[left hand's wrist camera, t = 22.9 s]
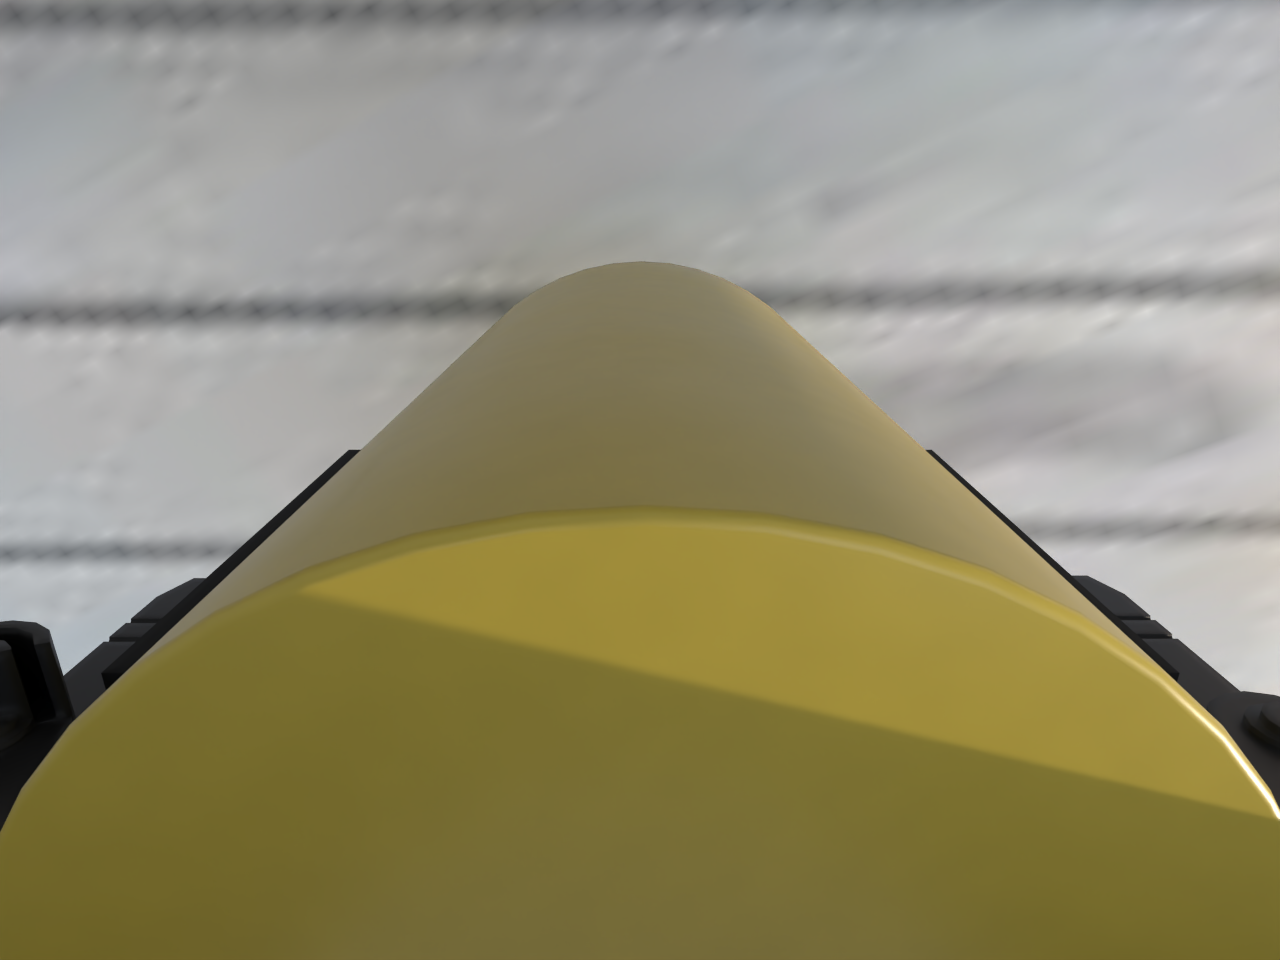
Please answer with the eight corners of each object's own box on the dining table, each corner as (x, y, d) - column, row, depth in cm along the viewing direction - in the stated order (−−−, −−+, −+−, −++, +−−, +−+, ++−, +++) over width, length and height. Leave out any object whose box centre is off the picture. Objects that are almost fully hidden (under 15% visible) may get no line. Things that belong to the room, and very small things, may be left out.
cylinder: (642, 165, 15) (650, 78, 3) (916, 462, 17) (1572, 1117, 5) (366, 462, 17) (-286, 1115, 5) (640, 693, 19) (642, 1542, 7)
